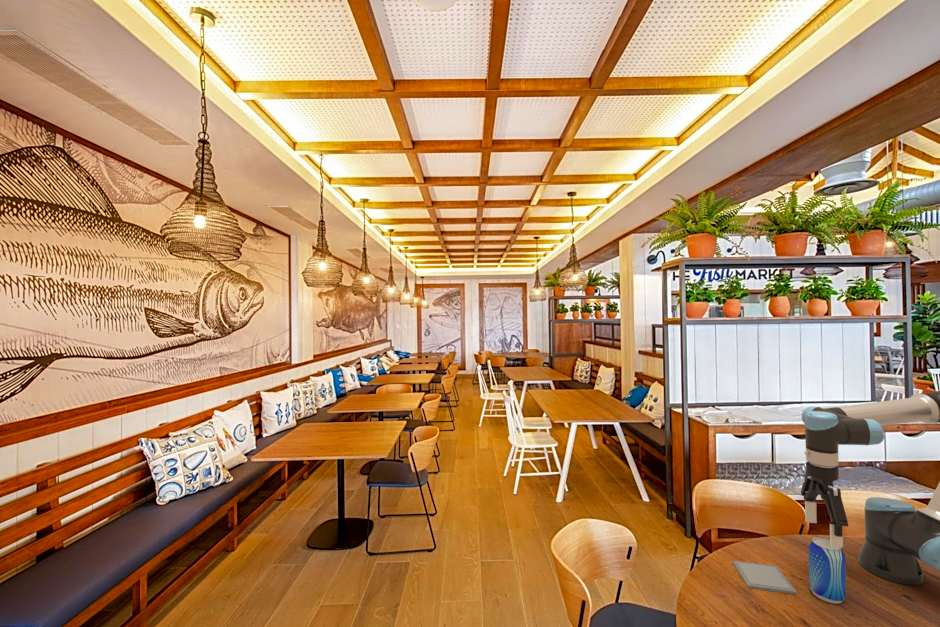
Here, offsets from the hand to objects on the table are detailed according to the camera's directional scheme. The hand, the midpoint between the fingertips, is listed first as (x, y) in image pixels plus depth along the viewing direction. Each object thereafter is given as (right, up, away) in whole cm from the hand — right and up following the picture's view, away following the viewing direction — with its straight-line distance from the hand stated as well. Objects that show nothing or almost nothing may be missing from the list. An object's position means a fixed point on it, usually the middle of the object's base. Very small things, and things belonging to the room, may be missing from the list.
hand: (823, 533), depth 125 cm
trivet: (-12, -19, +8) cm, 24 cm away
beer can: (+1, -19, 0) cm, 19 cm away
